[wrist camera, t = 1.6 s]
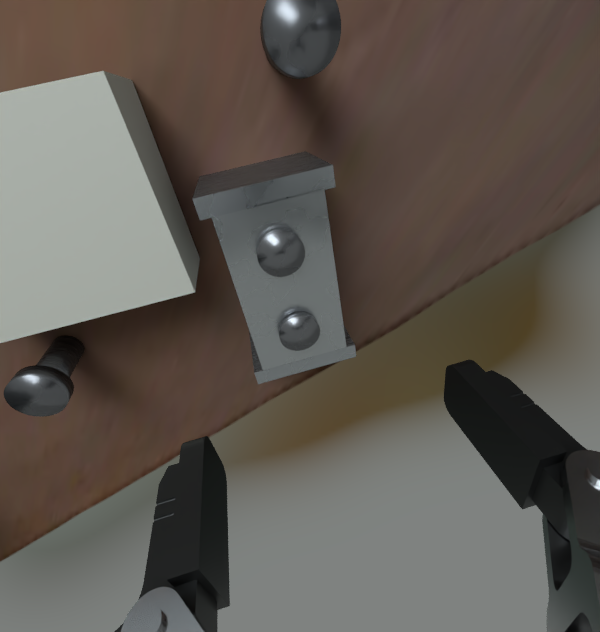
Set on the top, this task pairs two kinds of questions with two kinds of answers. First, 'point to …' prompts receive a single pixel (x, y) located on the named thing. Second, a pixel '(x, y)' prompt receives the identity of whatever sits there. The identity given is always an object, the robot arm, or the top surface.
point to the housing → (280, 260)
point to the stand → (84, 207)
